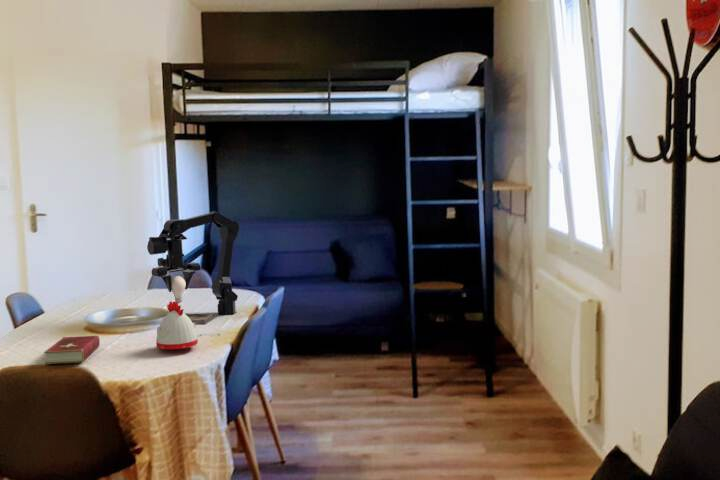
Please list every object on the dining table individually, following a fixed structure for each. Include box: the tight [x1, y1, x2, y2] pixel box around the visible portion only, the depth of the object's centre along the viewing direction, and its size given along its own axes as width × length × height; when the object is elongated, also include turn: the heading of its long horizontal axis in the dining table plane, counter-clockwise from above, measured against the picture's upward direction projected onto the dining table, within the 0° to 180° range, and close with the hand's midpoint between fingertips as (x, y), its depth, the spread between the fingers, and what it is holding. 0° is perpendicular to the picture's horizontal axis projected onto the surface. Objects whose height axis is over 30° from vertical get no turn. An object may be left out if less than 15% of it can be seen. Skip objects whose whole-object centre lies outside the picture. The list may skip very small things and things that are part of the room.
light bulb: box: [171, 275, 186, 304], centre depth 290 cm, size 7×7×11 cm
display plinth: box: [185, 313, 218, 325], centre depth 293 cm, size 14×14×2 cm
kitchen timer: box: [155, 300, 198, 350], centre depth 253 cm, size 14×14×15 cm
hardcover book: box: [43, 335, 101, 365], centre depth 244 cm, size 12×21×4 cm, turn 6°
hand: (178, 290), depth 290 cm, fingers closed on light bulb, 6 cm apart
